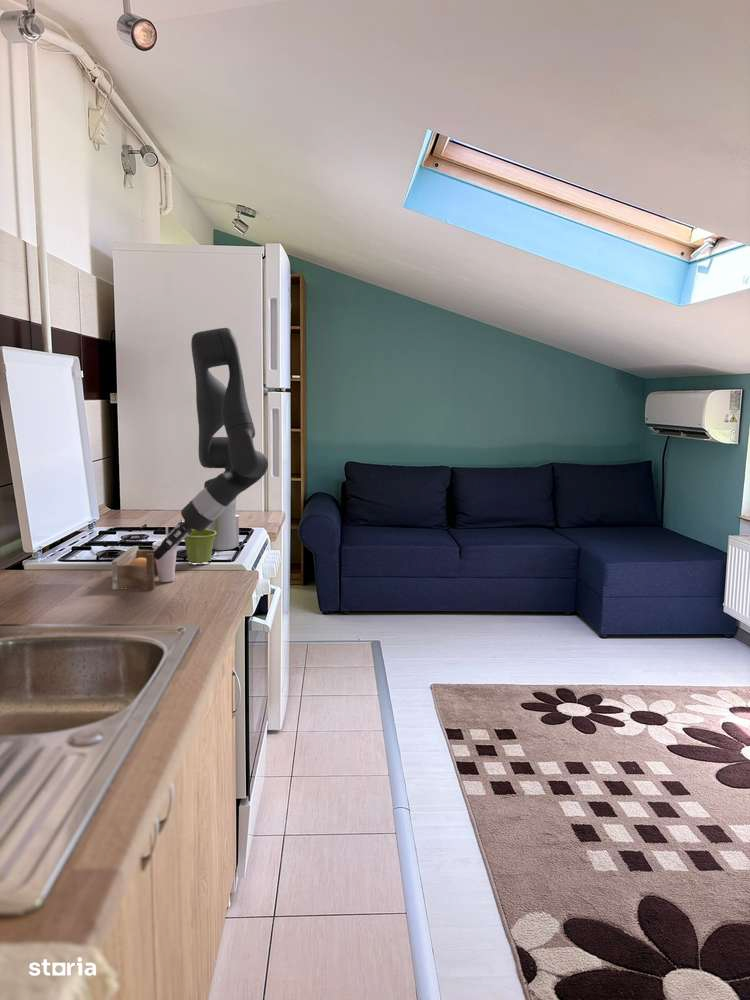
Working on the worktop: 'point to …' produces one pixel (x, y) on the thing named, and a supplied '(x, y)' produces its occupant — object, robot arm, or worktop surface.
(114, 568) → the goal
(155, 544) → the smoothie
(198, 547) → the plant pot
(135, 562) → the ball
